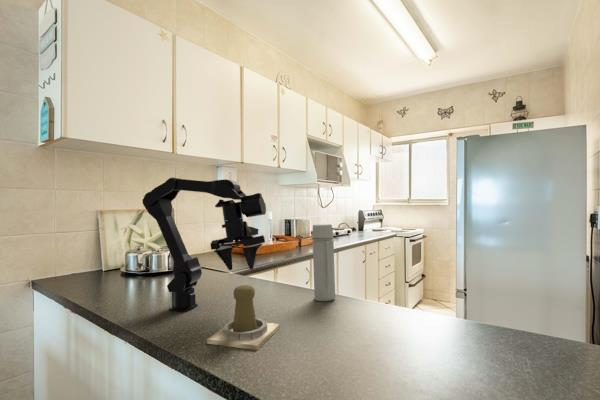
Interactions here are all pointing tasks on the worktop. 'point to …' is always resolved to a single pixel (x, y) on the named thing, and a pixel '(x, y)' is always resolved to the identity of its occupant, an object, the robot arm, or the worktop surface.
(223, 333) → the seat
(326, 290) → the water bottle
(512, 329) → the worktop surface
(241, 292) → the cork
